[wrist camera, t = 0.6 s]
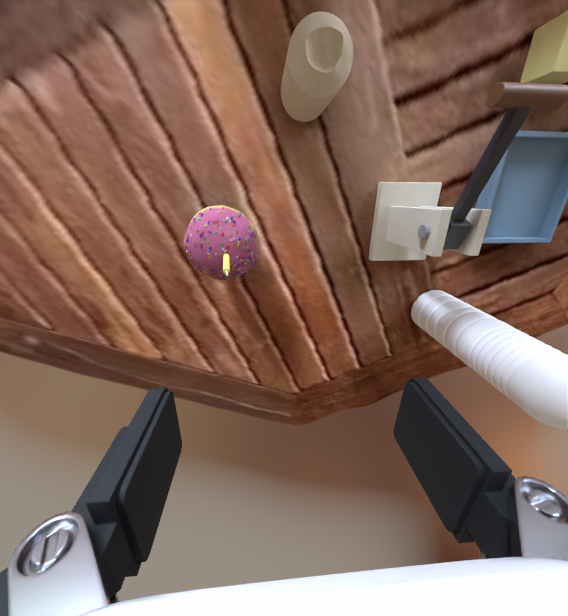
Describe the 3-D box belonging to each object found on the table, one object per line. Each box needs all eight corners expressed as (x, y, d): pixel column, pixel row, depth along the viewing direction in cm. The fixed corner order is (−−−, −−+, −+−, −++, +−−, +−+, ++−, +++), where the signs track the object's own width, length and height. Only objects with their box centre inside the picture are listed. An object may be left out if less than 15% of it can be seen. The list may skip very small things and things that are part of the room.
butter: (534, 29, 29) (574, 5, 25) (570, 32, 29) (615, 8, 26) (518, 86, 31) (553, 71, 27) (552, 87, 31) (591, 73, 28)
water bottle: (402, 306, 41) (581, 443, 18) (438, 280, 40) (678, 392, 17) (427, 342, 44) (606, 496, 21) (461, 318, 43) (689, 456, 20)
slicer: (378, 182, 34) (434, 175, 23) (436, 183, 35) (517, 176, 24) (368, 259, 38) (412, 283, 27) (420, 258, 38) (484, 282, 28)
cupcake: (271, 244, 36) (277, 264, 25) (225, 282, 37) (211, 317, 26) (227, 190, 33) (212, 186, 22) (179, 234, 34) (142, 251, 23)
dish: (494, 134, 33) (509, 130, 31) (575, 136, 34) (594, 132, 32) (465, 241, 38) (476, 243, 36) (536, 240, 39) (550, 242, 37)
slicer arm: (490, 79, 19) (512, 84, 17) (553, 81, 19) (580, 87, 18) (415, 237, 29) (425, 249, 27) (458, 236, 29) (470, 249, 27)
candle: (317, 52, 28) (346, -18, 19) (335, 109, 30) (368, 70, 21) (271, 77, 29) (278, 21, 20) (292, 131, 31) (306, 104, 22)
